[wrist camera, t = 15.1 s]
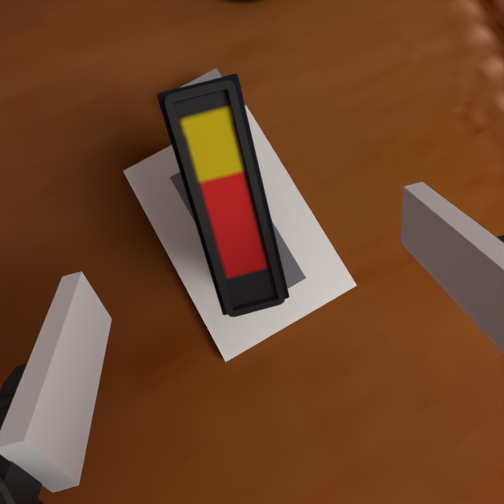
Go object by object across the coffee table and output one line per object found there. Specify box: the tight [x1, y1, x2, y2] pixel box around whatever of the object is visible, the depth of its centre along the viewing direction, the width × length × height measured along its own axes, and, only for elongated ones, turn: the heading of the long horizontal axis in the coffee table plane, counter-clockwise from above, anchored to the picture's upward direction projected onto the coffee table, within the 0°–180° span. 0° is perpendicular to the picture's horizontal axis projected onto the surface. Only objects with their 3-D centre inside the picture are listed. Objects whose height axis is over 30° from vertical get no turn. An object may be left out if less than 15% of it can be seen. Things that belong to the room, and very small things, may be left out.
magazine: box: [157, 74, 289, 317], centre depth 24 cm, size 4×13×15 cm, turn 15°
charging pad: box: [123, 68, 357, 362], centre depth 29 cm, size 21×12×3 cm, turn 30°
